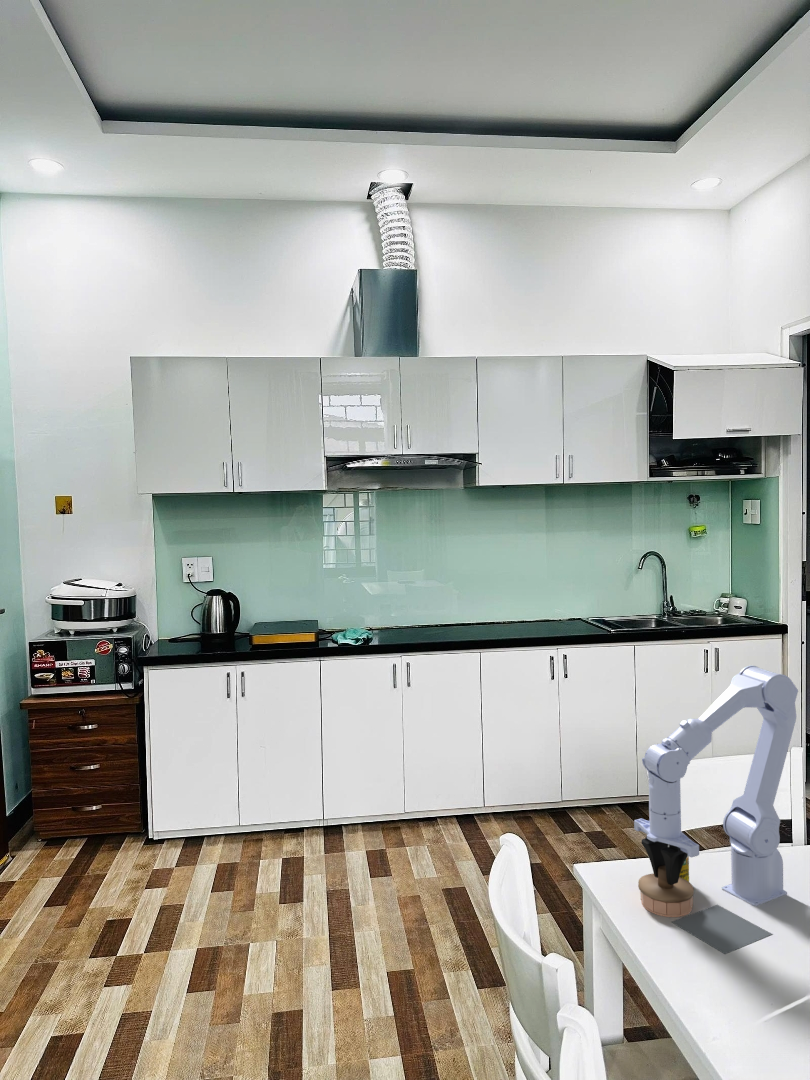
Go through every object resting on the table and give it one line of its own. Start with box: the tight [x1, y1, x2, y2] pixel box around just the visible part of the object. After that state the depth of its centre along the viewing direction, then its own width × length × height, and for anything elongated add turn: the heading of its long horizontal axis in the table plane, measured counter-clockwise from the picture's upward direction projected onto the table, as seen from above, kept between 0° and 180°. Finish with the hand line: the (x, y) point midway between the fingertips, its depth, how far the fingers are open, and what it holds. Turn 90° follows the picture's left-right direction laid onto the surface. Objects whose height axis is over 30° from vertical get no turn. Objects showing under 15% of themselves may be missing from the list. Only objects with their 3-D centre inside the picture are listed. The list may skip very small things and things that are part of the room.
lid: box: [637, 865, 695, 902], centre depth 151 cm, size 10×10×4 cm
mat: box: [671, 904, 773, 955], centre depth 142 cm, size 12×12×1 cm
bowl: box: [639, 890, 694, 918], centre depth 151 cm, size 9×9×3 cm
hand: (666, 879), depth 151 cm, fingers closed on lid, 3 cm apart
